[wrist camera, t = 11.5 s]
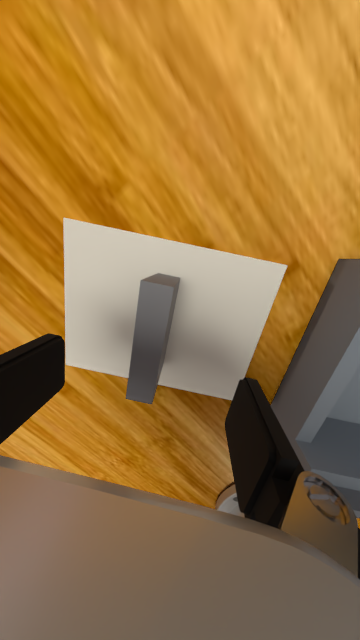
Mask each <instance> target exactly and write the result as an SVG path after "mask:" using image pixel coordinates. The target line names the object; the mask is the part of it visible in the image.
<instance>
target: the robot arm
mask: <svg viewBox="0 0 360 640" xmlns="http://www.w3.org/2000/svg"><path fill="white" fill-rule="evenodd" d="M64 383H65V342H64V340H63V339H62V337H61V336H58V335H54V334H46V335H44V336H41V337H39V338H37V339H35V340H32V341H30V342H28V343H26V344H24V345H21V346H19V347H17V348H15V349H13V350H10V351H8V352H6V353H4V354H1V355H0V444H1V443H2V442H3V441H4V440H6V439H7V438H8V437H9V436H10V435H11V434H12V433H13V432H14V431H16V430H17V429H18V428H19V427H20V426H21V425H22V424H23V423H24V422H25V421H27V420H28V419H29V418H30V417H31V416H32V415H33V414H34V413H35V412H37V411H38V410H39V409H40V408H41V407H42V406H43V405H44V404H45V403H46V402H48V401H49V400H50V399H51V398H52V397H53V396H54V395H55V394H56V393H58V392H59V391H60V390H61V389H62V387H63V386H64ZM225 430H226V436H227V442H228V447H229V453H230V459H231V465H232V471H233V476H234V482H235V484H234V485H232V486H230V487H229V488H227V489H226V490H225V491H224V492H223V493H222V494H221V495H220V497H219V498H218V500H217V502H216V506H215V507H216V510H215V509H212V508H208V507H204V506H201V505H197V504H193V503H189V502H185V501H181V500H177V499H174V498H170V497H166V496H162V495H158V494H154V493H150V492H146V491H142V490H138V489H134V488H130V487H126V486H122V485H118V484H114V483H110V482H106V481H102V480H98V479H94V478H90V477H86V476H82V475H78V474H74V473H70V472H66V471H62V470H58V469H54V468H50V467H46V466H42V465H38V464H34V463H29V462H25V461H21V460H17V459H13V458H9V457H4V456H0V640H360V529H359V528H358V524H357V519H356V515H355V513H354V511H353V509H352V507H351V505H350V504H349V502H348V501H347V499H346V498H345V497H344V495H343V494H342V493H341V492H340V491H339V490H338V489H337V488H336V487H335V486H334V485H333V484H332V483H330V482H329V481H328V480H326V479H325V478H323V477H322V476H320V475H318V474H316V473H314V472H310V471H305V470H304V469H303V467H302V465H301V463H300V461H299V459H298V457H297V455H296V453H295V451H294V449H293V448H292V446H291V444H290V442H289V440H288V438H287V436H286V434H285V432H284V430H283V429H282V427H281V425H280V423H279V421H278V419H277V417H276V415H275V414H274V412H273V410H272V408H271V406H270V404H269V402H268V400H267V398H266V396H265V394H264V393H263V391H262V389H261V387H260V385H259V383H258V381H257V380H255V379H251V378H246V377H245V378H244V379H243V380H242V379H240V380H239V383H238V386H237V388H236V391H235V394H234V397H233V400H232V403H231V406H230V408H229V411H228V414H227V417H226V420H225Z"/></svg>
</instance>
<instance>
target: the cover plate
mask: <svg viewBox="0 0 360 640" xmlns="http://www.w3.org/2000/svg"><path fill="white" fill-rule="evenodd" d="M287 266H288V265H283V264H279V263H274V262H269V261H264V260H260V259H255V258H250V257H246V256H241V255H236V254H232V253H227V252H222V251H218V250H213V249H208V248H204V247H199V246H194V245H190V244H185V243H180V242H176V241H171V240H166V239H162V238H157V237H152V236H147V235H143V234H138V233H133V232H129V231H124V230H119V229H115V228H110V227H105V226H101V225H96V224H91V223H87V222H82V221H77V220H73V219H68V218H64V281H65V344H66V365H70V366H74V367H79V368H83V369H88V370H93V371H97V372H102V373H107V374H111V375H116V376H121V377H125V378H128V385H127V393H126V399H129V400H134V401H139V402H143V403H148V404H152V402H153V399H154V395H155V392H156V388H157V385H163V386H167V387H172V388H177V389H181V390H186V391H190V392H195V393H200V394H204V395H209V396H214V397H218V398H223V399H228V400H233V397H234V394H235V391H236V388H237V386H238V383H239V380H240V379H242V380H243V379H244V377H245V374H246V372H247V369H248V366H249V364H250V361H251V359H252V356H253V354H254V351H255V348H256V346H257V343H258V341H259V338H260V335H261V333H262V330H263V328H264V325H265V322H266V320H267V317H268V315H269V312H270V310H271V307H272V304H273V302H274V299H275V297H276V294H277V291H278V289H279V286H280V284H281V281H282V278H283V276H284V273H285V271H286V268H287Z"/></svg>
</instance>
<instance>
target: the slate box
mask: <svg viewBox="0 0 360 640" xmlns="http://www.w3.org/2000/svg"><path fill="white" fill-rule="evenodd" d="M271 408H272V410H273V412H274V414H275V415H276V417H277V419H278V421H279V423H280V425H281V427H282V429H283V430H284V432H285V434H286V436H287V438H288V440H289V442H290V444H291V446H292V448H293V449H294V451H295V453H296V455H297V457H298V459H299V461H300V463H301V465H302V467H303V469H304V470H305V471H310V472H314V473H316V474H318V475H320V476H322V477H323V478H325V479H326V480H328V481H329V482H330V483H332V484H333V485H334V486H335V487H336V488H337V489H338V490H339V491H340V492H341V493H342V494H343V495H344V497H345V498H346V499H347V501H348V502H349V504H350V505H351V507H352V509H353V511H354V513H355V515H356V517H357V518H360V259H339V260H338V262H337V265H336V267H335V269H334V271H333V273H332V275H331V277H330V280H329V282H328V284H327V286H326V288H325V290H324V292H323V294H322V297H321V299H320V301H319V303H318V305H317V307H316V309H315V312H314V314H313V316H312V318H311V320H310V322H309V324H308V327H307V329H306V331H305V333H304V335H303V337H302V339H301V342H300V344H299V346H298V348H297V350H296V352H295V354H294V357H293V359H292V361H291V363H290V365H289V367H288V369H287V372H286V374H285V376H284V378H283V380H282V382H281V384H280V387H279V389H278V391H277V393H276V395H275V397H274V399H273V402H272V404H271Z"/></svg>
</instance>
